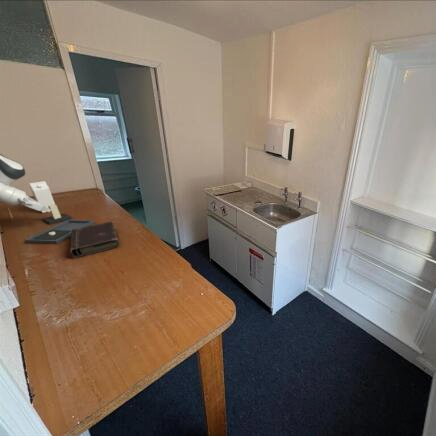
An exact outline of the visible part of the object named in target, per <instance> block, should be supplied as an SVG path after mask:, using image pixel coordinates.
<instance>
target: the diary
mask: <svg viewBox="0 0 436 436" xmlns="http://www.w3.org/2000/svg"><path fill="white" fill-rule="evenodd" d="M119 237H120V236H119V235H118V234H117V232H116V228H115V226H114V223H113V221H108V222H102V223H96V224H95V223H94V224H92V225H90V226H86V227H82V228H78V229H72V232H71V236H70V250H69V253H70V256H71V257H72V259H76V258H79V257H80V258H81V257H84V256H88V255H92V254H96V253H97V254H98V253H100V252H104V251H108V250H112V249H115V248H119V247H120V243H119V240H118V238H119Z"/></svg>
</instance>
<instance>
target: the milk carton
mask: <svg viewBox="0 0 436 436" xmlns="http://www.w3.org/2000/svg"><path fill="white" fill-rule="evenodd" d="M29 187H30V191H31V193H32V196H33V199H34V200H35V201H37V202H38V203H40V204H42V205H44V206H45V207H46V208H49V207H48V206H49V205H53V204H55V205H56V203H55V200H54V197H53V195H52V192H51V189H50V187H49V185H48V184H47V182H46V180H44V181H37V182H29ZM40 212H41V213H42V214H44V213H48V212H47V211H43V210H42V211H40Z"/></svg>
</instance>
